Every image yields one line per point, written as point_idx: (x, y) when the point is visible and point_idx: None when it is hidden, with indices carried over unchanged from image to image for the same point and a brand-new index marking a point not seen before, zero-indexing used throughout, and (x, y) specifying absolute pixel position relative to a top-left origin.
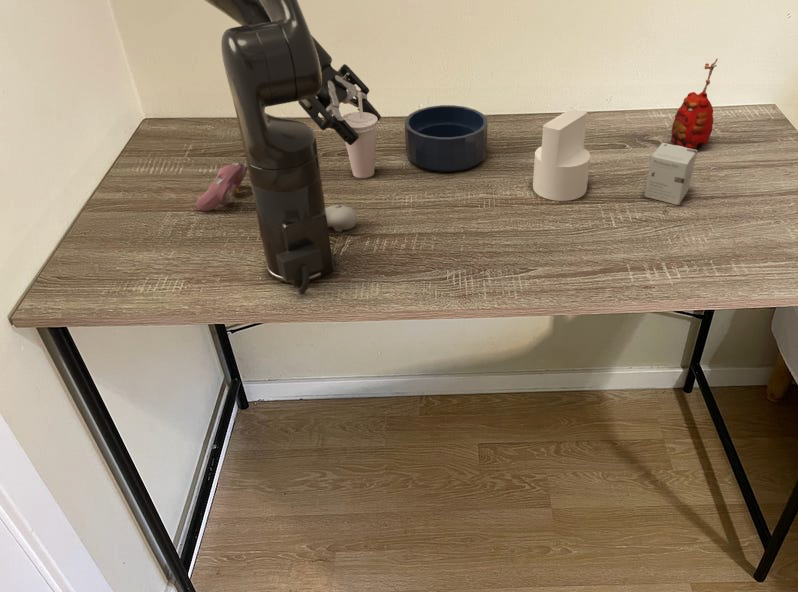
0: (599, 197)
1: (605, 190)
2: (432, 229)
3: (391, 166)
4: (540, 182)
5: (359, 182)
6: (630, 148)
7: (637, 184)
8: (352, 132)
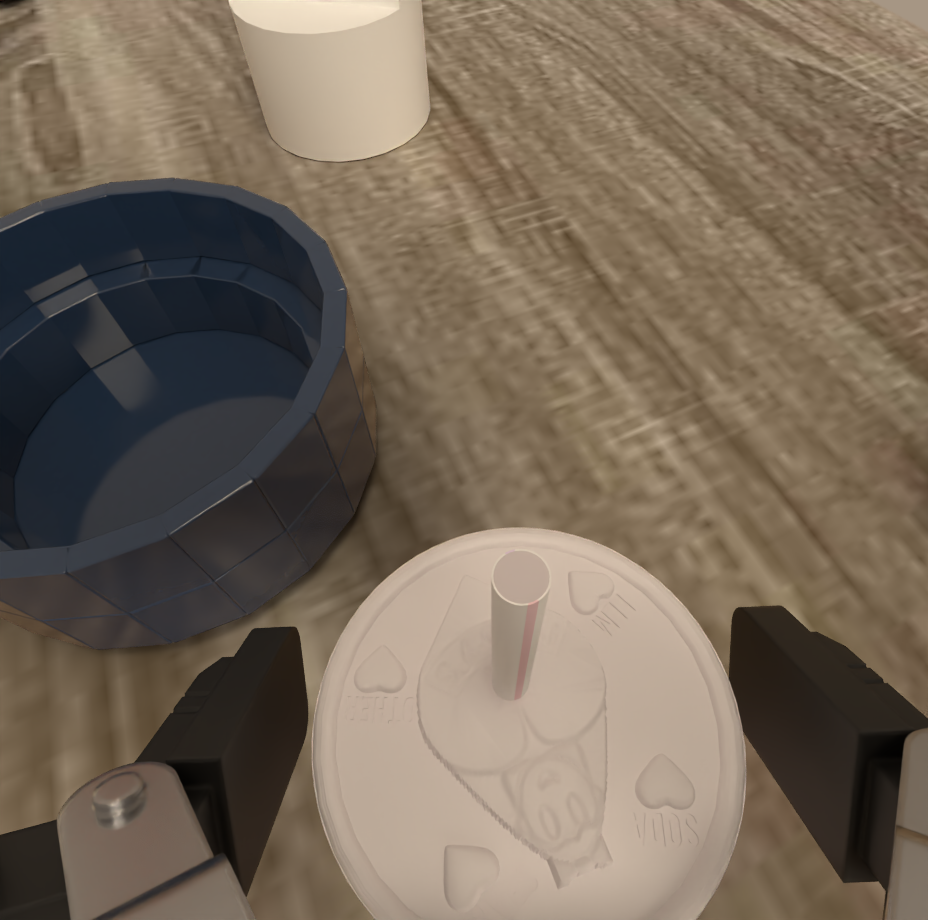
0: None
1: None
2: (792, 287)
3: None
4: (413, 87)
5: None
6: (48, 55)
7: None
8: (808, 631)
